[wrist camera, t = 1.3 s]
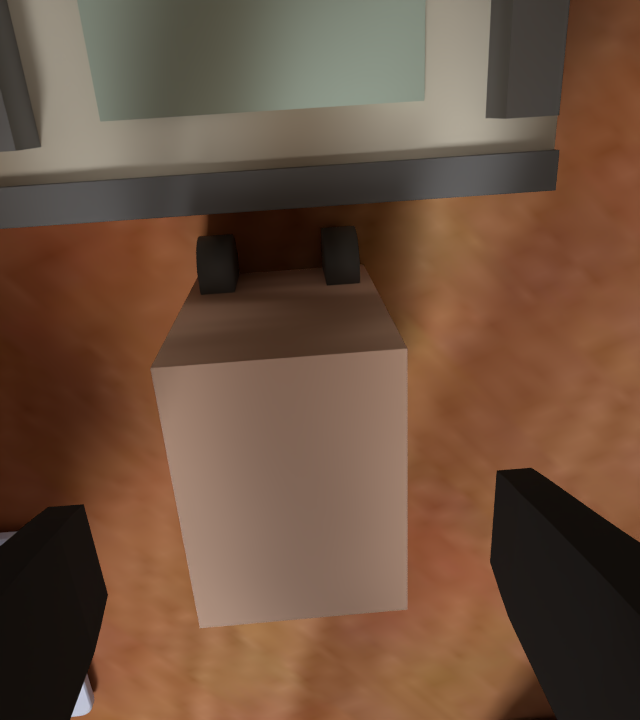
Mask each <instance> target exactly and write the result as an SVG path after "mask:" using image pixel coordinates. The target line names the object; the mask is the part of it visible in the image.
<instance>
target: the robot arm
mask: <svg viewBox="0 0 640 720" xmlns="http://www.w3.org/2000/svg"><path fill="white" fill-rule="evenodd" d="M490 563H491V566H492V569H493V572H494V575H495V579H496V582H497V585H498V588H499V591H500V594H501V597H502V600H503V603H504V605H505V608H506V611H507V614H508V617H509V619H510V621H511V623H512V626H513V628H514V630H515V632H516V634H517V636H518V638H519V641H520V643H521V645H522V647H523V649H524V651H525V653H526V655H527V658H528V660H529V662H530V664H531V666H532V668H533V670H534V672H535V674H536V676H537V679H538V681H539V683H540V685H541V687H542V689H543V691H544V693H545V695H546V697H547V699H548V702H549V704H550V706H551V708H552V710H553V712H554V714H555V716H556V718H557V720H640V542H638V541H637V540H635V539H634V538H632V537H631V536H629V535H628V534H626V533H625V532H623V531H622V530H620V529H619V528H617V527H616V526H614V525H613V524H611V523H610V522H609V521H607V520H606V519H604V518H603V517H601V516H600V515H598V514H597V513H596V512H594V511H593V510H591V509H590V508H588V507H587V506H586V505H584V504H583V503H581V502H580V501H579V500H577V499H576V498H574V497H573V496H572V495H570V494H569V493H567V492H566V491H564V490H563V489H562V488H560V487H559V486H557V485H556V484H555V483H553V482H552V481H550V480H549V479H547V478H546V477H544V476H543V475H542V474H540V473H538V472H537V471H535V470H534V469H532V468H523V469H511V470H499V471H497V475H496V489H495V503H494V516H493V530H492V544H491V558H490ZM107 596H108V594H107V590H106V586H105V582H104V579H103V575H102V571H101V567H100V564H99V560H98V556H97V553H96V549H95V545H94V541H93V538H92V534H91V530H90V527H89V523H88V519H87V515H86V512H85V508H84V504H82V505H70V506H58V507H48V508H46V509H45V510H44V511H42V512H41V513H40V514H38V515H37V516H36V517H35V518H33V519H32V520H31V521H30V522H28V523H27V524H26V525H25V526H23V527H22V528H21V529H20V530H19V531H16V532H4V533H0V720H70V718H71V717H74V716H82V715H85V714H87V713H89V712H90V711H91V709H92V706H93V703H94V694H93V691H92V688H91V685H90V681H89V678H88V675H87V672H88V669H89V667H90V664H91V661H92V658H93V655H94V652H95V648H96V644H97V640H98V636H99V632H100V628H101V624H102V619H103V615H104V610H105V605H106V601H107Z"/></svg>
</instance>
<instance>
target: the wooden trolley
mask: <svg viewBox="0 0 640 720" xmlns="http://www.w3.org/2000/svg"><path fill="white" fill-rule="evenodd" d="M321 252H322V268H310V269H296V270H282V271H268V272H254V273H241V274H239V264H238V256H237V249H236V244H235V239H234V236H233V234H227V235H213V236H199V237H198V240H197V248H196V259H197V273H198V278H197V280H196V281H195V283H194V285H193V287H192V289H191V291H190V293H189V295H188V297H187V299H186V301H185V303H184V305H183V307H182V308H181V310H180V312H179V314H178V316H177V318H176V320H175V322H174V324H173V326H172V328H171V330H170V332H169V333H168V335H167V337H166V339H165V341H164V343H163V345H162V347H161V349H160V351H159V353H158V355H157V357H156V359H155V360H154V362H153V364H152V366H151V368H150V369H151V374H152V379H153V384H154V390H155V395H156V400H157V405H158V411H159V416H160V421H161V426H162V432H163V437H164V442H165V447H166V453H167V458H168V463H169V468H170V474H171V479H172V484H173V489H174V495H175V500H176V505H177V510H178V516H179V521H180V526H181V531H182V537H183V542H184V547H185V552H186V558H187V563H188V568H189V573H190V578H191V584H192V589H193V594H194V599H195V605H196V610H197V615H198V620H199V626H200V628H207V627H218V626H229V625H240V624H251V623H262V622H273V621H284V620H295V619H306V618H317V617H329V616H340V615H351V614H362V613H373V612H384V611H395V610H406V609H407V347H406V345H405V343H404V341H403V339H402V337H401V335H400V334H399V332H398V330H397V328H396V326H395V324H394V322H393V320H392V318H391V316H390V314H389V312H388V311H387V309H386V307H385V305H384V303H383V301H382V299H381V297H380V295H379V293H378V291H377V290H376V288H375V286H374V284H373V282H372V280H371V278H370V276H369V274H368V272H367V270H366V268H365V267H364V265H360V260H359V248H358V240H357V233H356V229H355V226H341V227H327V228H321Z"/></svg>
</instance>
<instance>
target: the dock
mask: <svg viewBox="0 0 640 720" xmlns="http://www.w3.org/2000/svg"><path fill="white" fill-rule="evenodd" d="M569 5H570V0H0V229H4V228H18V227H33V226H47V225H62V224H76V223H91V222H105V221H119V220H134V219H148V218H163V217H177V216H191V215H206V214H220V213H235V212H249V211H264V210H278V209H292V208H307V207H321V206H336V205H350V204H365V203H379V202H393V201H408V200H422V199H437V198H451V197H466V196H480V195H494V194H509V193H523V192H538V191H552V190H556V180H557V170H558V160H559V150H554V147H555V136H556V125H557V115H559V110H560V100H561V89H562V79H563V68H564V58H565V47H566V36H567V26H568V15H569Z"/></svg>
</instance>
